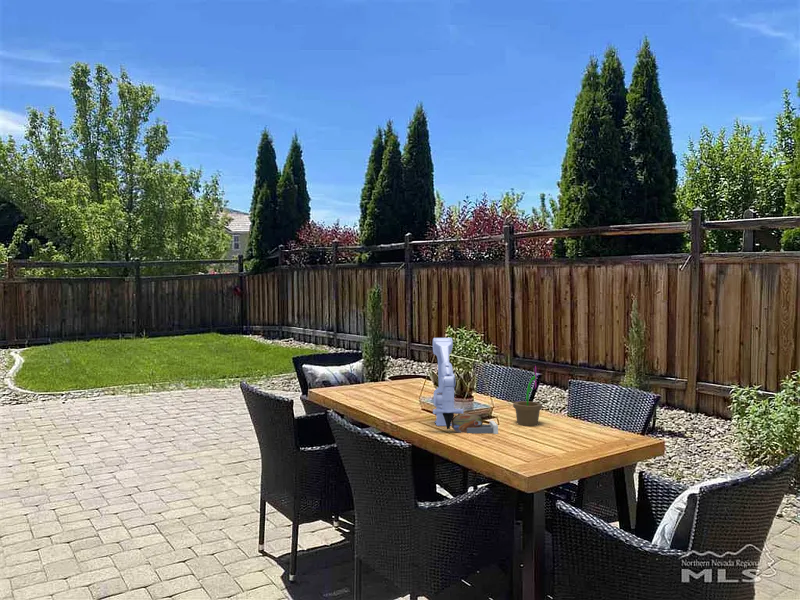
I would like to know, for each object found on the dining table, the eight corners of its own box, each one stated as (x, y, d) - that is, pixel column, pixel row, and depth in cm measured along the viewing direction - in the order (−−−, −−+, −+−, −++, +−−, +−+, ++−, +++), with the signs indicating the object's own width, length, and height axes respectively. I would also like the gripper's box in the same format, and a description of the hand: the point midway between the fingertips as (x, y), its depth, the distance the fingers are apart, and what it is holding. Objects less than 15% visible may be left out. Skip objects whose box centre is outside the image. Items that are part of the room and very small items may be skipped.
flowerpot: (542, 427, 292) (542, 367, 291) (513, 426, 295) (513, 366, 294) (541, 421, 306) (541, 363, 305) (513, 420, 309) (513, 363, 308)
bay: (464, 429, 289) (464, 421, 289) (493, 428, 289) (493, 420, 289) (467, 434, 279) (467, 425, 279) (497, 433, 279) (498, 425, 279)
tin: (452, 433, 281) (452, 415, 281) (450, 431, 284) (450, 414, 284) (482, 431, 283) (482, 414, 283) (480, 430, 286) (480, 413, 286)
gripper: (434, 402, 279) (434, 430, 279) (464, 401, 279) (464, 430, 280) (432, 399, 286) (432, 427, 286) (462, 399, 286) (462, 426, 287)
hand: (448, 428), depth 283 cm, fingers closed
